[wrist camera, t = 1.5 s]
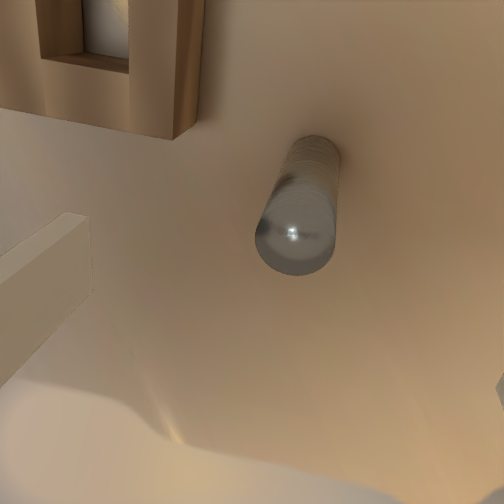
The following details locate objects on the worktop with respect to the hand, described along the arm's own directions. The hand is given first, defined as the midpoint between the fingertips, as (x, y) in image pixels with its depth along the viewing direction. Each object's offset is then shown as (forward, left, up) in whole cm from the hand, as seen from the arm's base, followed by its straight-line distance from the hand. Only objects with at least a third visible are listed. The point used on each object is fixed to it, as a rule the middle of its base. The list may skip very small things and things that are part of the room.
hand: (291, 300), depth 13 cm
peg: (0, 0, -14) cm, 14 cm away
